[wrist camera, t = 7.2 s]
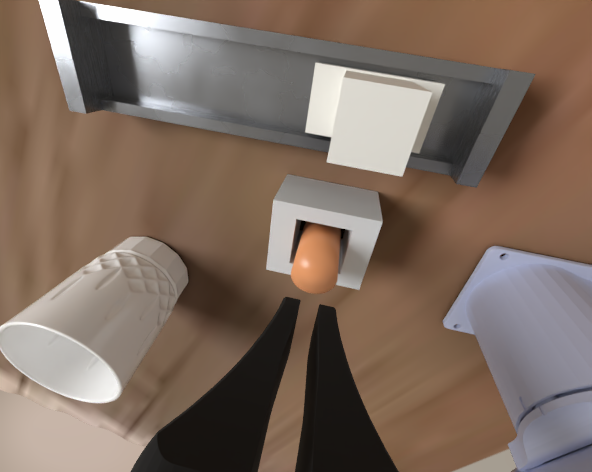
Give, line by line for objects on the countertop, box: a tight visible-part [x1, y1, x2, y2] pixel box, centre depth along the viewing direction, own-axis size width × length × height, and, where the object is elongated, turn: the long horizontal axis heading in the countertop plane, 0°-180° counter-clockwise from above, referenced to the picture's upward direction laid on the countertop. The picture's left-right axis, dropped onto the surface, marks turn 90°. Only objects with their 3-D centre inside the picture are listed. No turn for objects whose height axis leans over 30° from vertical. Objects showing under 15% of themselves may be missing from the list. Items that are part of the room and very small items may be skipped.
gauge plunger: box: [291, 221, 341, 294], centre depth 17 cm, size 2×2×4 cm
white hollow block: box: [266, 174, 383, 290], centre depth 19 cm, size 6×5×4 cm
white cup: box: [0, 237, 189, 403], centre depth 22 cm, size 8×8×10 cm
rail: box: [39, 0, 535, 188], centre depth 15 cm, size 22×5×3 cm, turn 82°
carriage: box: [305, 62, 445, 176], centre depth 13 cm, size 6×3×6 cm, turn 82°
